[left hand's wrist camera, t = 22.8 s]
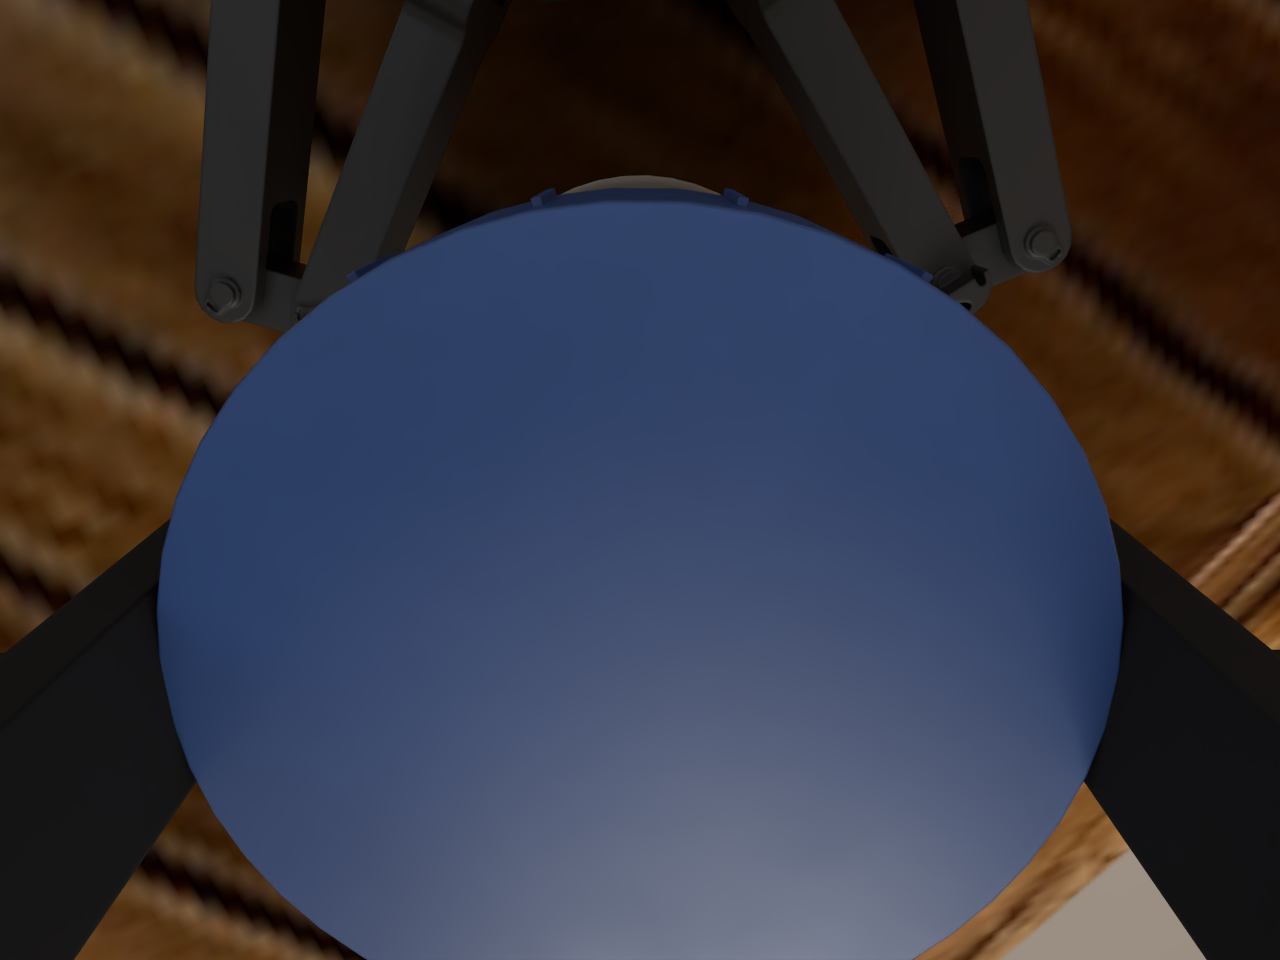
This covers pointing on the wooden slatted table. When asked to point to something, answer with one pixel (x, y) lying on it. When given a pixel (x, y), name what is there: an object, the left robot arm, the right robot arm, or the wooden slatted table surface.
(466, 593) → the lid
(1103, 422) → the wooden slatted table surface
